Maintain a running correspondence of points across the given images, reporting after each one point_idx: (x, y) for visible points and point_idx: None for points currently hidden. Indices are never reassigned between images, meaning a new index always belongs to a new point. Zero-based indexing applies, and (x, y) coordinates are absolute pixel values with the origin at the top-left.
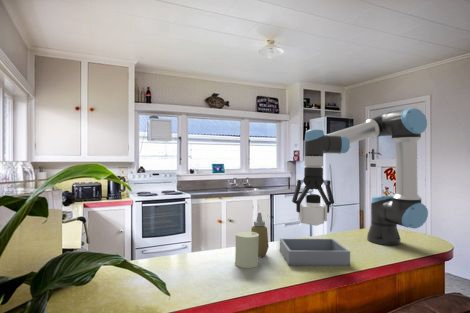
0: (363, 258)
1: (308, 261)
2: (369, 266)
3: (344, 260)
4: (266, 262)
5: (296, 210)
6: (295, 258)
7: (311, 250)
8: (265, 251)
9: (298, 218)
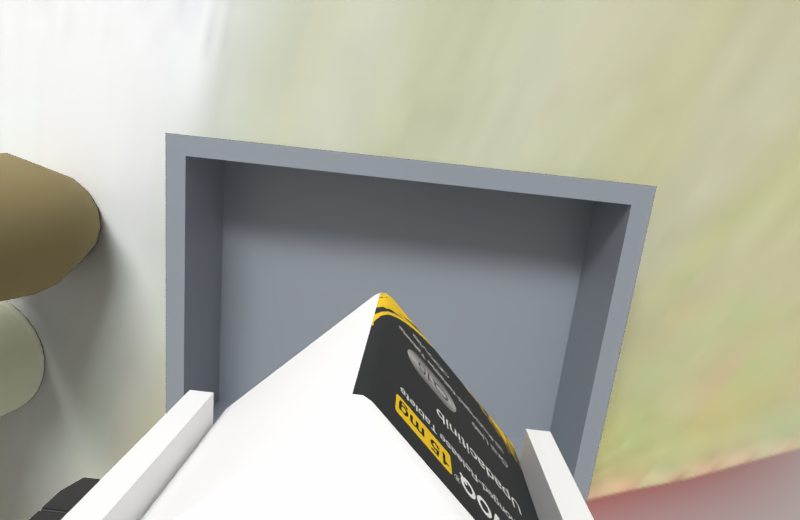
0: (727, 348)
1: None
2: (663, 469)
3: None
4: (93, 345)
5: (58, 503)
6: None
7: (436, 195)
8: (66, 274)
9: (182, 399)
